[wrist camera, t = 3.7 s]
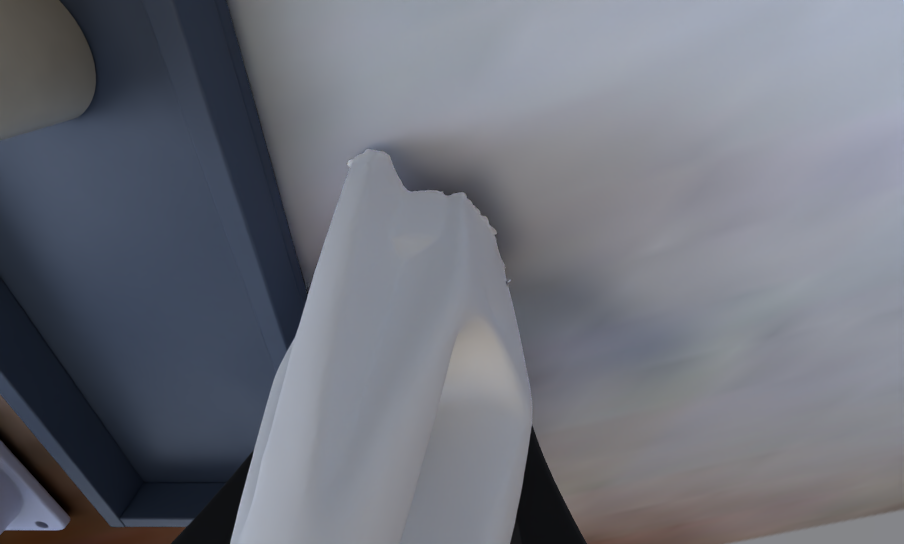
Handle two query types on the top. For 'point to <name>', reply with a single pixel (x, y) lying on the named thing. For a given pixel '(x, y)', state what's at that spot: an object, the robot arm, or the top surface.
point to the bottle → (42, 67)
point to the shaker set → (396, 382)
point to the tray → (147, 266)
